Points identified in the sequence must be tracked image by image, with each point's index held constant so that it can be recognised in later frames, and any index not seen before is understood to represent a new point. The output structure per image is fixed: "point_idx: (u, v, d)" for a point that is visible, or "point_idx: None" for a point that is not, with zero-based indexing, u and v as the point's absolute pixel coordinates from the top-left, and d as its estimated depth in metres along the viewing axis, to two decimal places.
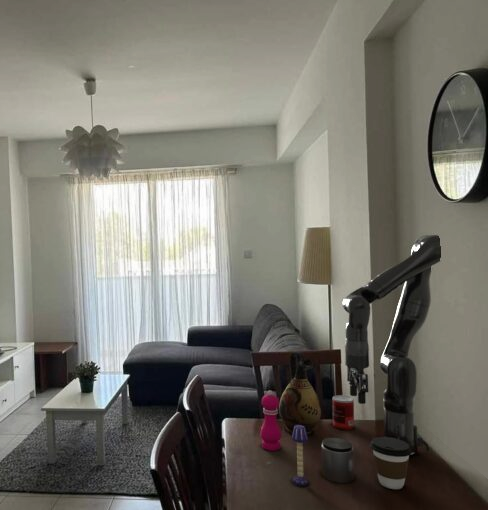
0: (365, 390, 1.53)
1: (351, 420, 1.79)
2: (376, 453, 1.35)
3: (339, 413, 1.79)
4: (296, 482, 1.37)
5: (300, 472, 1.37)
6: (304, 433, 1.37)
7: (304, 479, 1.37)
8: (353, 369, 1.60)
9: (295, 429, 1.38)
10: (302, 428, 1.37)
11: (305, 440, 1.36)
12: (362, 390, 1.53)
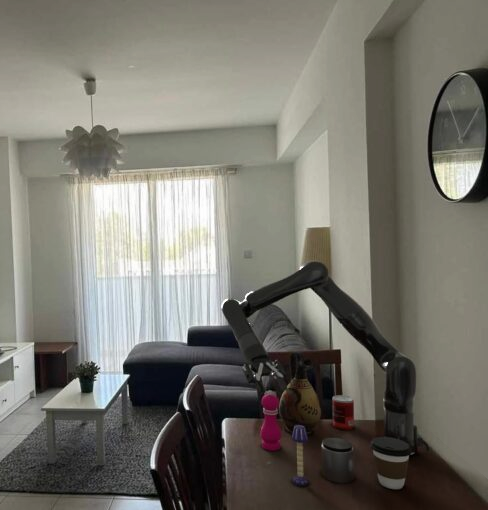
0: (249, 379, 1.49)
1: (351, 420, 1.79)
2: (376, 453, 1.35)
3: (339, 413, 1.79)
4: (296, 482, 1.37)
5: (300, 472, 1.37)
6: (304, 433, 1.37)
7: (304, 479, 1.37)
8: None
9: (295, 429, 1.38)
10: (302, 428, 1.37)
11: (305, 440, 1.36)
12: (248, 380, 1.50)
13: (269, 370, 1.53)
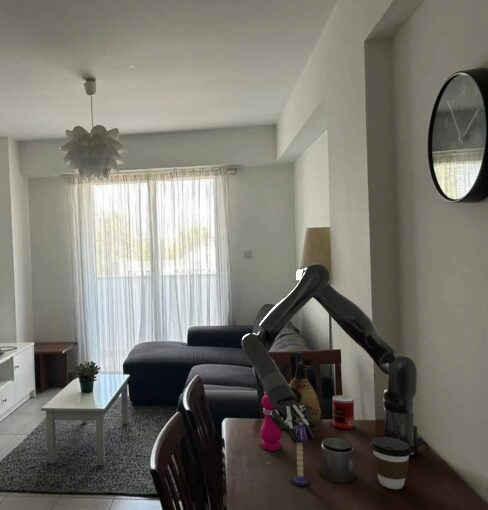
0: (282, 426, 1.37)
1: (351, 420, 1.79)
2: (376, 453, 1.35)
3: (339, 413, 1.79)
4: (296, 482, 1.37)
5: (300, 472, 1.37)
6: (304, 433, 1.37)
7: (304, 479, 1.37)
8: None
9: (295, 429, 1.38)
10: (302, 428, 1.37)
11: (305, 440, 1.36)
12: (280, 428, 1.38)
13: (294, 414, 1.41)
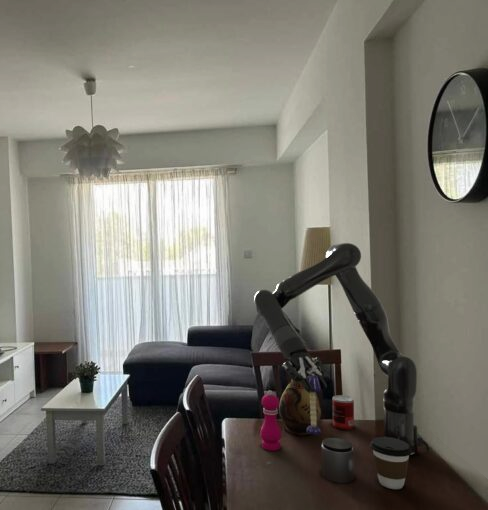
0: (295, 376, 1.39)
1: (351, 420, 1.79)
2: (376, 453, 1.35)
3: (339, 413, 1.79)
4: (309, 431, 1.38)
5: (313, 421, 1.39)
6: (317, 382, 1.38)
7: (317, 428, 1.38)
8: None
9: (308, 379, 1.39)
10: (315, 378, 1.38)
11: (318, 389, 1.38)
12: (293, 378, 1.39)
13: (307, 365, 1.42)
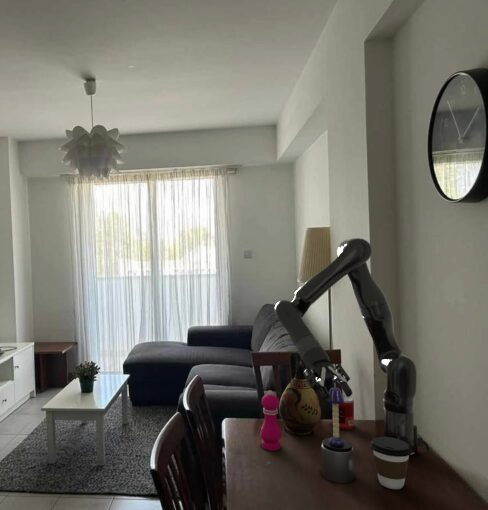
0: (313, 384, 1.41)
1: (351, 420, 1.79)
2: (376, 453, 1.35)
3: (339, 413, 1.79)
4: (332, 442, 1.41)
5: (336, 433, 1.41)
6: (340, 395, 1.41)
7: (340, 439, 1.41)
8: None
9: (331, 391, 1.42)
10: (338, 390, 1.41)
11: (341, 401, 1.40)
12: (311, 386, 1.42)
13: (332, 375, 1.45)
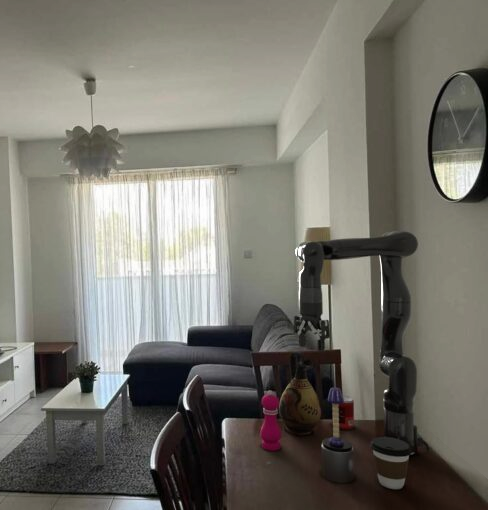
0: (327, 336, 1.50)
1: (351, 420, 1.79)
2: (376, 453, 1.35)
3: (339, 413, 1.79)
4: (332, 442, 1.41)
5: (336, 433, 1.41)
6: (340, 395, 1.41)
7: (340, 439, 1.41)
8: (307, 318, 1.56)
9: (331, 391, 1.42)
10: (338, 390, 1.41)
11: (341, 401, 1.40)
12: (325, 336, 1.49)
13: None
